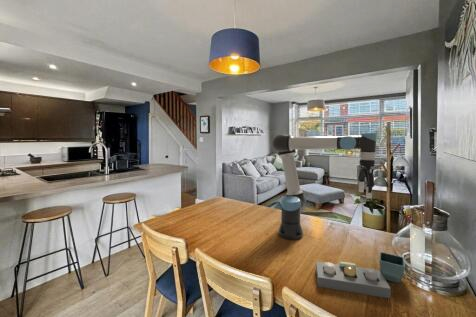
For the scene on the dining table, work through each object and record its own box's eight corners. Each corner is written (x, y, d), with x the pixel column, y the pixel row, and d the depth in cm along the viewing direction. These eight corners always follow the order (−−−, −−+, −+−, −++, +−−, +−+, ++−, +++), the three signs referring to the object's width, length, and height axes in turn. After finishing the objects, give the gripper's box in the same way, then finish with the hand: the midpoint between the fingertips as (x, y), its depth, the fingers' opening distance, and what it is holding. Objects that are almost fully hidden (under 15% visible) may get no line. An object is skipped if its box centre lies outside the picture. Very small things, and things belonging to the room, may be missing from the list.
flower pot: (378, 269, 101) (379, 251, 100) (402, 276, 96) (403, 257, 95) (378, 279, 93) (379, 260, 93) (403, 287, 88) (405, 266, 88)
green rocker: (340, 267, 95) (340, 263, 95) (339, 265, 98) (339, 261, 98) (355, 270, 93) (355, 265, 94) (354, 267, 96) (354, 263, 96)
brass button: (344, 281, 90) (345, 270, 90) (342, 275, 94) (343, 264, 94) (356, 283, 89) (357, 271, 88) (354, 276, 93) (354, 265, 93)
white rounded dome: (366, 285, 88) (366, 273, 88) (363, 278, 92) (363, 267, 92) (378, 286, 87) (379, 275, 86) (375, 280, 91) (375, 268, 91)
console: (318, 286, 90) (318, 277, 89) (315, 269, 101) (316, 261, 101) (390, 298, 82) (390, 288, 82) (379, 278, 94) (379, 270, 94)
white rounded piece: (324, 278, 92) (324, 267, 92) (323, 272, 97) (323, 261, 96) (335, 280, 91) (335, 268, 91) (333, 273, 95) (334, 263, 95)
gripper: (383, 161, 113) (380, 201, 115) (367, 157, 137) (364, 190, 139) (367, 161, 114) (364, 200, 116) (354, 157, 138) (352, 189, 141)
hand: (364, 195), depth 128 cm, fingers open, 13 cm apart
